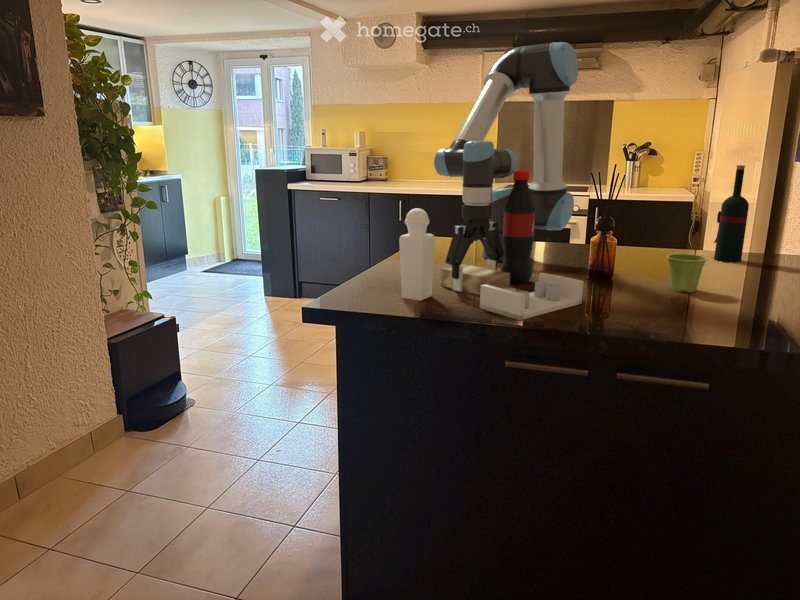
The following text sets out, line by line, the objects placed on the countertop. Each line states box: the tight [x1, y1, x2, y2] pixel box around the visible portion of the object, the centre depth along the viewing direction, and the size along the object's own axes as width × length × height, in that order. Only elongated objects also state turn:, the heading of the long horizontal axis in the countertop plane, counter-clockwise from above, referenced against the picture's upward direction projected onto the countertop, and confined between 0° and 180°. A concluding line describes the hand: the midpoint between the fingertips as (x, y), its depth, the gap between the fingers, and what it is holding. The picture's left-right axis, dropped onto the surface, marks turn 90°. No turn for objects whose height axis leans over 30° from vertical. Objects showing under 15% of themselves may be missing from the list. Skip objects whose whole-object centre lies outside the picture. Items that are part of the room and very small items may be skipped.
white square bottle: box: [398, 207, 436, 302], centre depth 142 cm, size 6×6×22 cm
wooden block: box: [440, 263, 511, 296], centre depth 154 cm, size 16×9×5 cm, turn 42°
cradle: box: [479, 272, 584, 321], centre depth 136 cm, size 22×12×6 cm, turn 127°
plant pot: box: [666, 253, 708, 293], centre depth 150 cm, size 9×9×9 cm
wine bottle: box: [713, 164, 750, 264], centre depth 186 cm, size 8×10×30 cm
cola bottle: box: [500, 170, 536, 285], centre depth 157 cm, size 8×8×30 cm
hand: (474, 287), depth 154 cm, fingers open, 11 cm apart
